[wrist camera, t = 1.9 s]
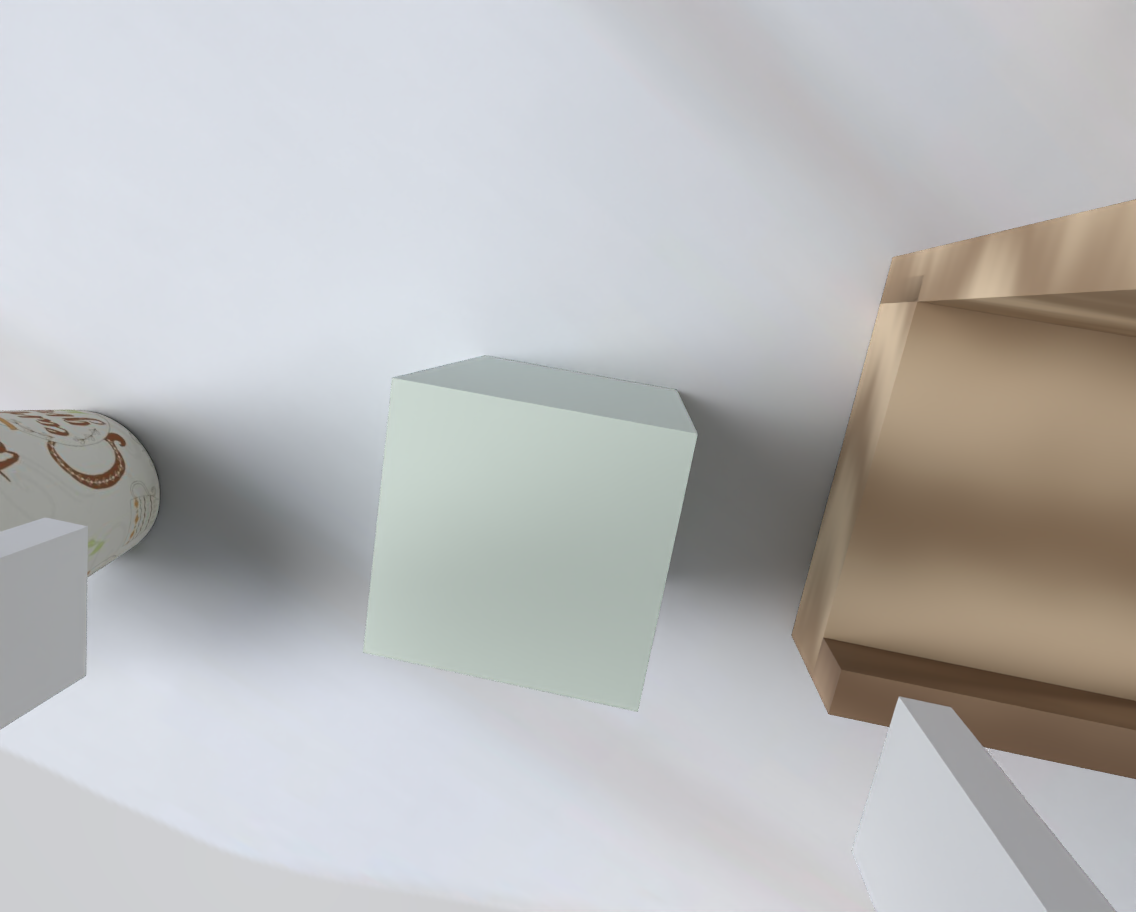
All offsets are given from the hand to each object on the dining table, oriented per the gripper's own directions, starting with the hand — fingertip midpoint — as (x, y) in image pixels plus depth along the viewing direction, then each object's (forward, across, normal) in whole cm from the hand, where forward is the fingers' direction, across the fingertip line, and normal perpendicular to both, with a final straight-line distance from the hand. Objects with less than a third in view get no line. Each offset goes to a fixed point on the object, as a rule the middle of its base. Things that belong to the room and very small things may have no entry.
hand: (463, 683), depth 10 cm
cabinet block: (+14, 0, 0) cm, 14 cm away
